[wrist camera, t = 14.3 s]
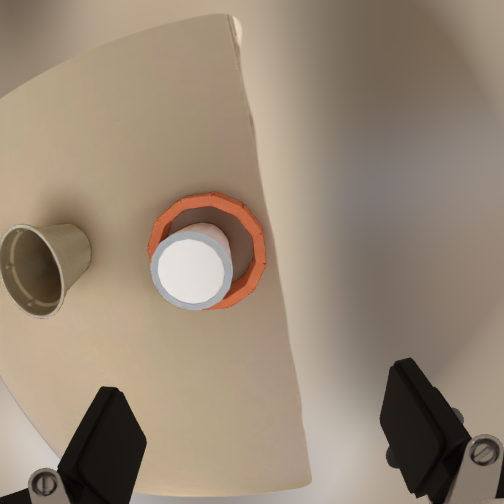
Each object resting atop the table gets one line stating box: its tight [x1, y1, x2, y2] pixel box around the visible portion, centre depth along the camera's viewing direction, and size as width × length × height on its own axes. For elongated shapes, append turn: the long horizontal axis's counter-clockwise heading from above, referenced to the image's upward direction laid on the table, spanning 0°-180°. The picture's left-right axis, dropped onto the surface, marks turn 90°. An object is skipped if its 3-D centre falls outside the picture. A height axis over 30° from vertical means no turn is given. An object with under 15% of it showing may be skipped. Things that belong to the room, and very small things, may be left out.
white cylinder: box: [151, 222, 233, 311], centre depth 27 cm, size 7×7×7 cm
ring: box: [148, 192, 266, 310], centre depth 29 cm, size 11×11×3 cm
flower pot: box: [0, 224, 91, 319], centre depth 26 cm, size 9×9×9 cm
